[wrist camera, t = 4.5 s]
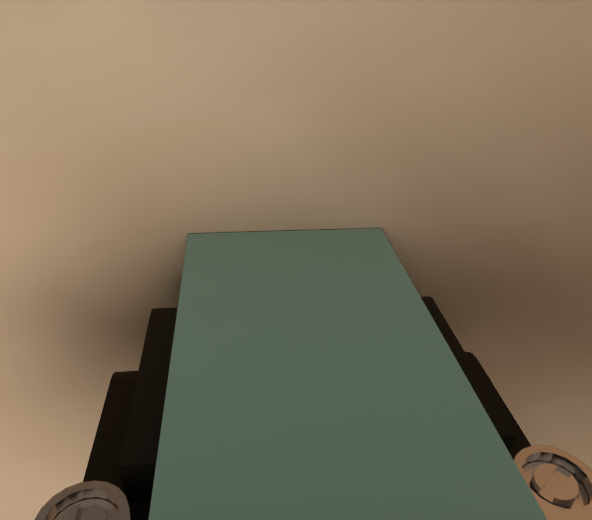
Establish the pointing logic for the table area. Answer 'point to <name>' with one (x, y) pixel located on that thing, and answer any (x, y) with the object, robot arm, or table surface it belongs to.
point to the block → (320, 392)
